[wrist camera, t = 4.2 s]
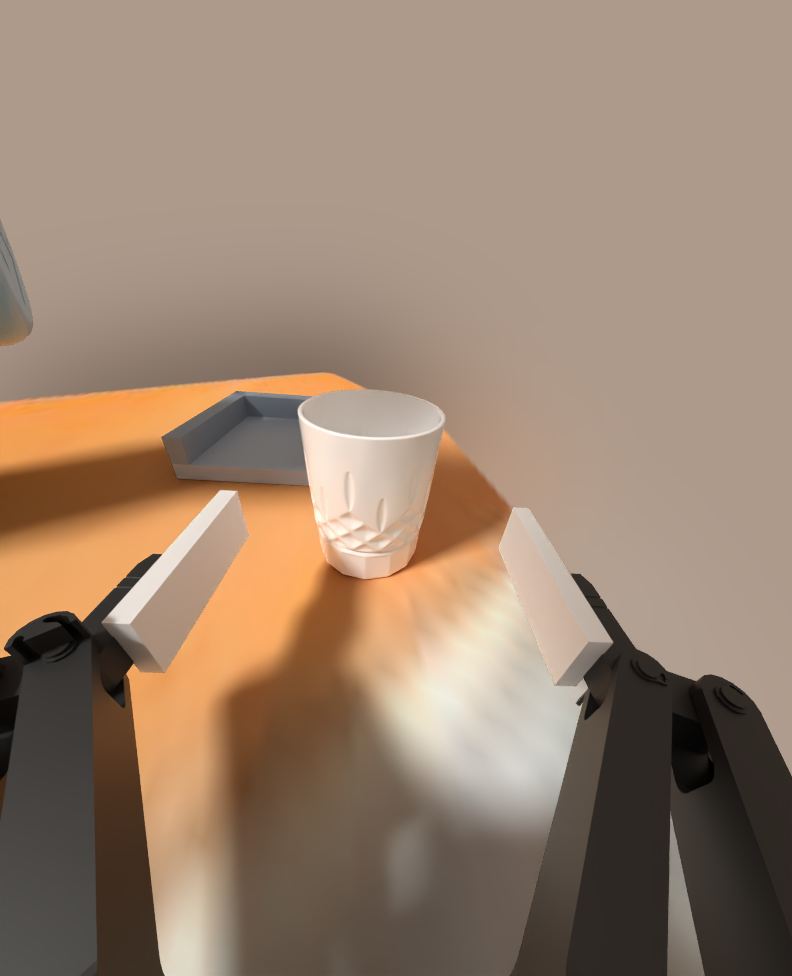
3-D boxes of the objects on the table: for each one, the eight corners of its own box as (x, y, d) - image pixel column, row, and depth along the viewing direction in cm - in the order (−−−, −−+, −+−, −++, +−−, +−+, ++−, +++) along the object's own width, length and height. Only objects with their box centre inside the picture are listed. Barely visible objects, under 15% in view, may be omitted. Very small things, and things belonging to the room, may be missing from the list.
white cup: (427, 591, 18) (457, 444, 13) (299, 585, 18) (274, 432, 13) (419, 513, 25) (436, 394, 19) (325, 507, 25) (316, 385, 19)
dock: (333, 487, 27) (331, 447, 25) (177, 478, 27) (161, 437, 24) (351, 429, 39) (351, 399, 37) (243, 422, 38) (236, 391, 36)
